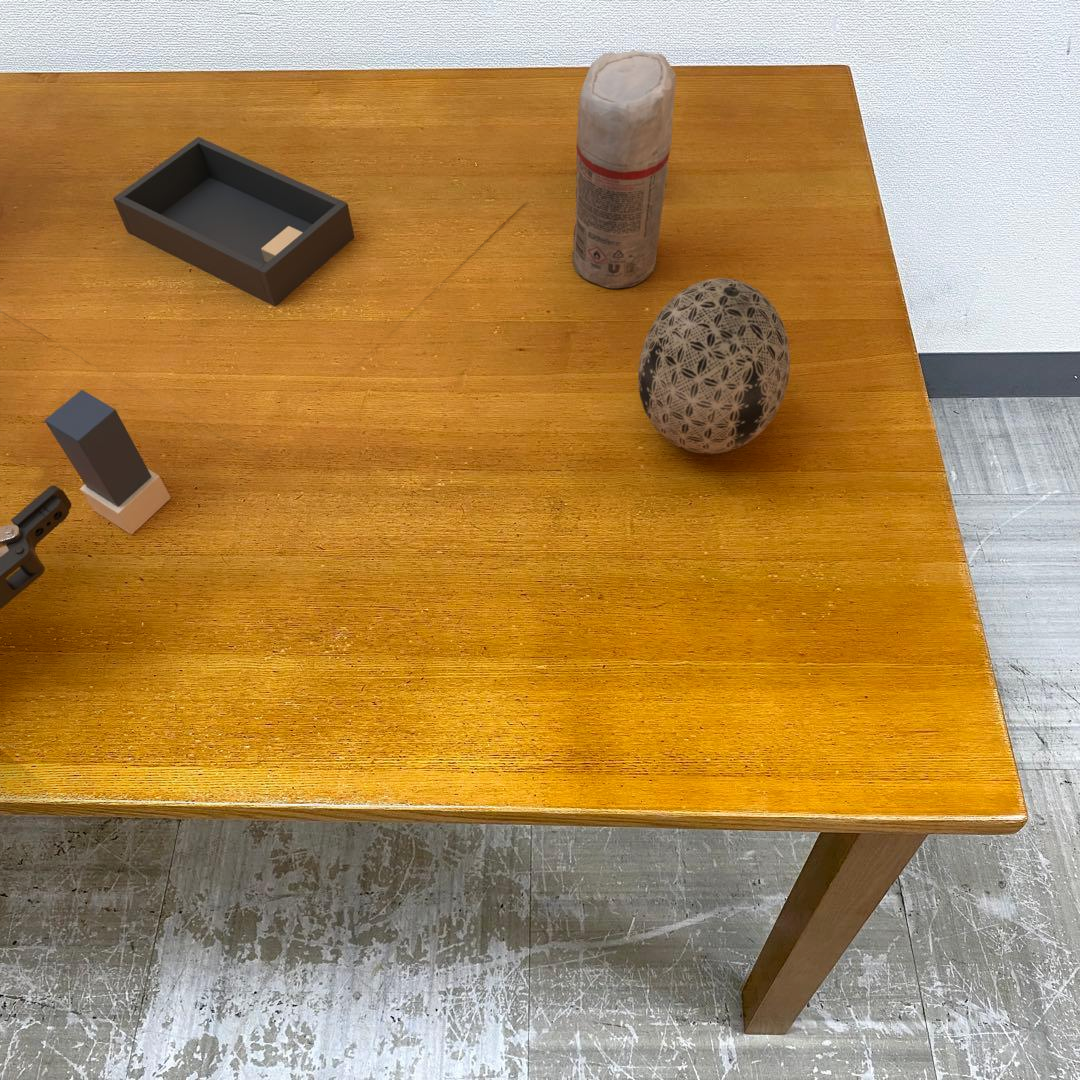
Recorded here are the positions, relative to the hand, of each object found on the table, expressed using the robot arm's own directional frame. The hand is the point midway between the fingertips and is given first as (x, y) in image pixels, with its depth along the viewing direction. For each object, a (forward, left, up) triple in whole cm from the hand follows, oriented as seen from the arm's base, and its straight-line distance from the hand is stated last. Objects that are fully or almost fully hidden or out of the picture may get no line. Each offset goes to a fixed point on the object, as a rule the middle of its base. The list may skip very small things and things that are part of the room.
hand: (22, 467), depth 71 cm
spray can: (+18, +52, -11) cm, 56 cm away
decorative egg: (+35, +38, -11) cm, 52 cm away
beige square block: (-8, +35, -10) cm, 37 cm away
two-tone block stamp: (0, +6, -11) cm, 12 cm away
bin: (-15, +35, -11) cm, 39 cm away
